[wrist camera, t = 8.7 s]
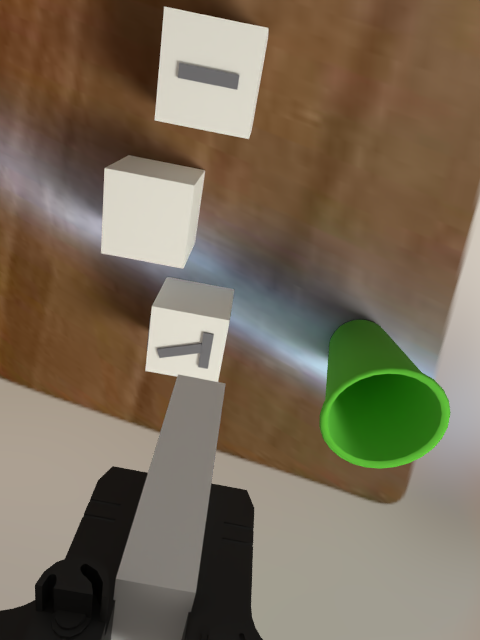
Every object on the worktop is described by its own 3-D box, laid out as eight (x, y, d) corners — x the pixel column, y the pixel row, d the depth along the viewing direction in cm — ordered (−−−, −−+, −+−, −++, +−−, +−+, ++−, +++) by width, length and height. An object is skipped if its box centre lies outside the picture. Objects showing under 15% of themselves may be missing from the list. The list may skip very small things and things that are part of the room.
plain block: (128, 155, 35) (104, 168, 30) (205, 170, 36) (194, 185, 30) (124, 229, 38) (101, 253, 33) (195, 242, 38) (183, 268, 33)
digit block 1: (178, 18, 31) (160, 5, 26) (268, 36, 31) (268, 27, 26) (169, 113, 34) (150, 119, 28) (251, 129, 34) (248, 139, 29)
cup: (396, 386, 44) (433, 473, 34) (302, 379, 44) (311, 464, 34) (418, 302, 40) (467, 374, 30) (314, 294, 40) (329, 363, 30)
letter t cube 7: (164, 275, 40) (148, 306, 34) (234, 288, 40) (229, 321, 35) (158, 334, 43) (142, 371, 37) (223, 346, 43) (217, 385, 37)
